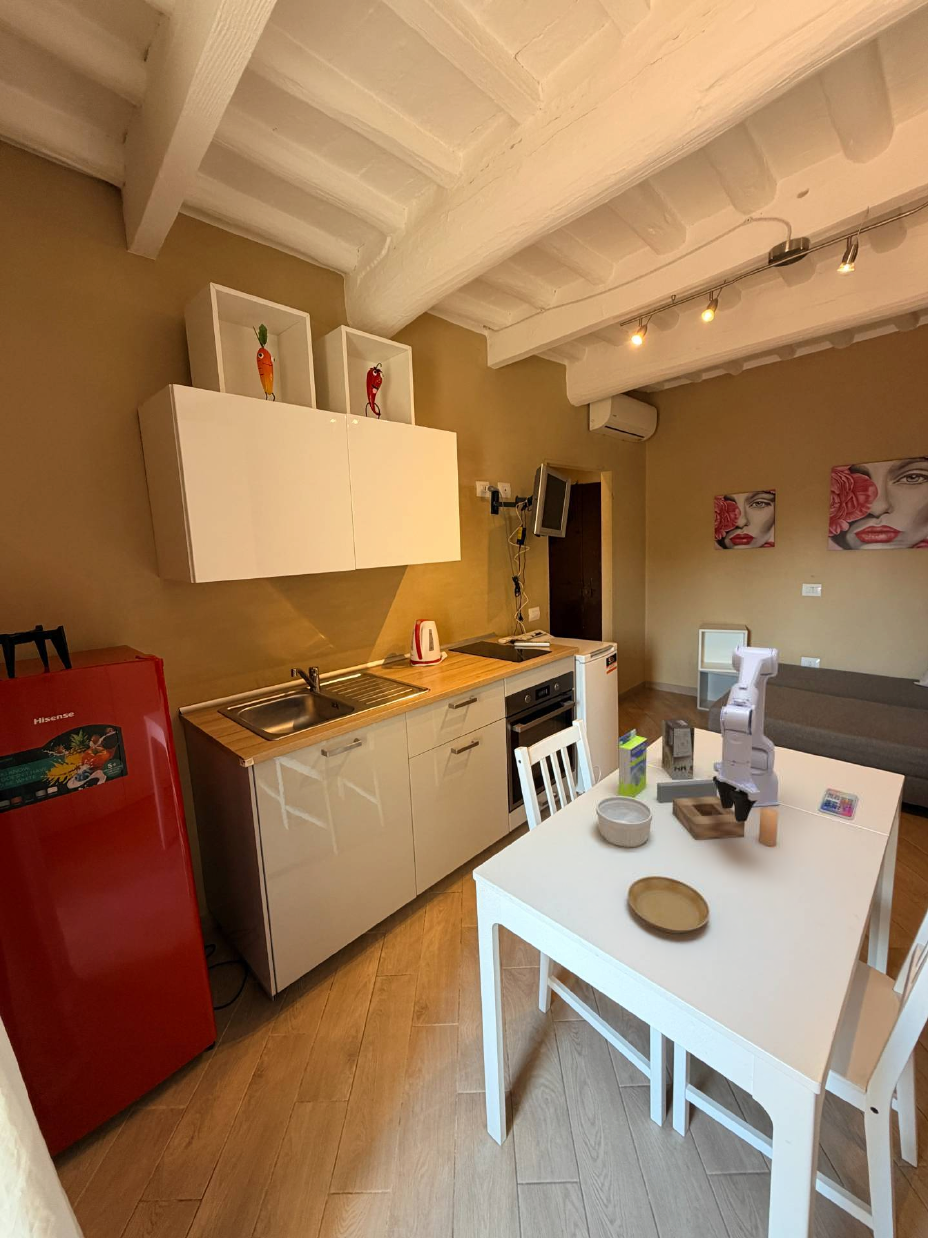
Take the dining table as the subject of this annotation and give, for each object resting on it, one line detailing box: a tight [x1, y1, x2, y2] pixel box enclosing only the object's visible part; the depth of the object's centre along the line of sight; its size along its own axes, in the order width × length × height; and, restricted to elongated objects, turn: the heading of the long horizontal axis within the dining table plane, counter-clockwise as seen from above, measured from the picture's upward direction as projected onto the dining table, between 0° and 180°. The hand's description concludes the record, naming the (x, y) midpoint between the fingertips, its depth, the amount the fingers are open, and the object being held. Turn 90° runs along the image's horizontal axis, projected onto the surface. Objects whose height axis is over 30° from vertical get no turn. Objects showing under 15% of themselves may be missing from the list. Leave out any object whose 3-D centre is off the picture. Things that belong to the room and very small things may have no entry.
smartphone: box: [818, 787, 860, 821], centre depth 131 cm, size 7×1×15 cm
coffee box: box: [661, 717, 696, 780], centre depth 152 cm, size 9×6×16 cm
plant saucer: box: [627, 875, 710, 934], centre depth 96 cm, size 15×15×3 cm
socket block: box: [672, 795, 746, 841], centre depth 124 cm, size 12×12×4 cm
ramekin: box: [595, 795, 653, 848], centre depth 122 cm, size 13×13×7 cm
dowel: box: [758, 806, 779, 848], centre depth 116 cm, size 4×4×8 cm
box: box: [618, 728, 648, 798], centre depth 141 cm, size 10×4×17 cm, turn 135°
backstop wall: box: [656, 778, 718, 804], centre depth 136 cm, size 16×2×5 cm, turn 92°
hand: (734, 814), depth 112 cm, fingers open, 5 cm apart
